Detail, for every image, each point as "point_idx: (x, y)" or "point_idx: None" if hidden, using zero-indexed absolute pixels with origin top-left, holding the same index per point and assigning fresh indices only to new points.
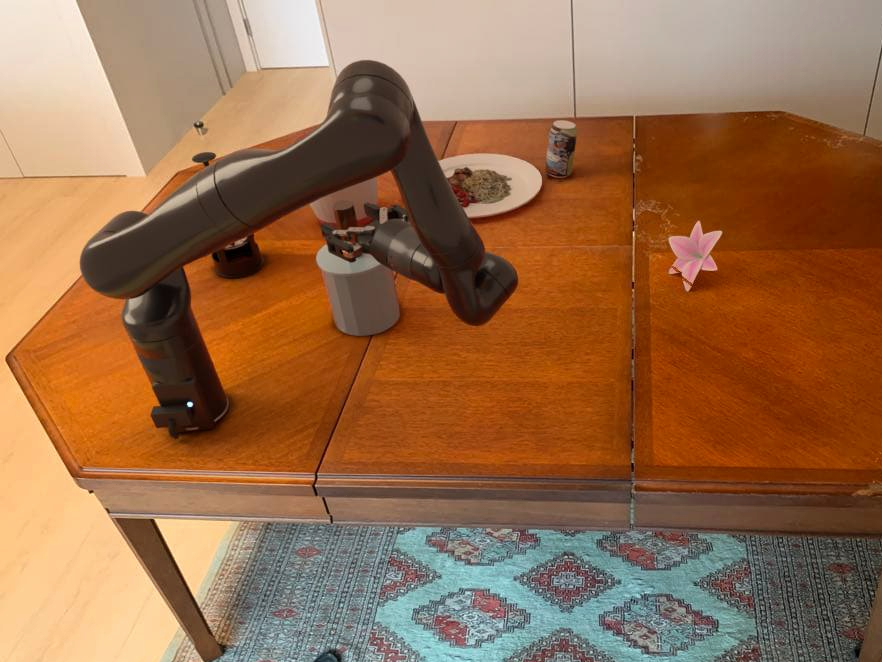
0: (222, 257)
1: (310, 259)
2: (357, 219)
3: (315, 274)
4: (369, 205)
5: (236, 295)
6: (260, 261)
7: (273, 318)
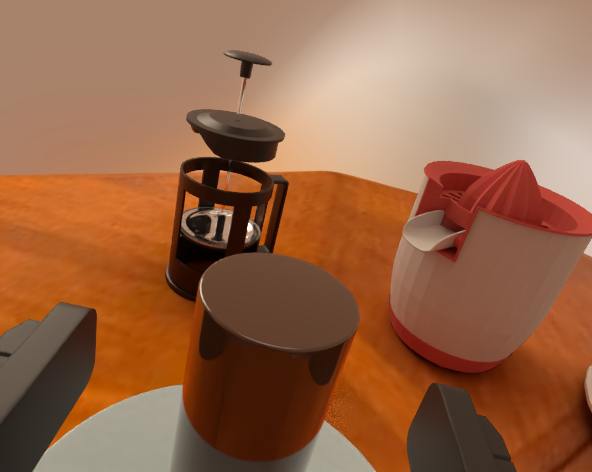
0: (174, 243)
1: None
2: (450, 353)
3: None
4: (459, 429)
5: (122, 314)
6: None
7: None
